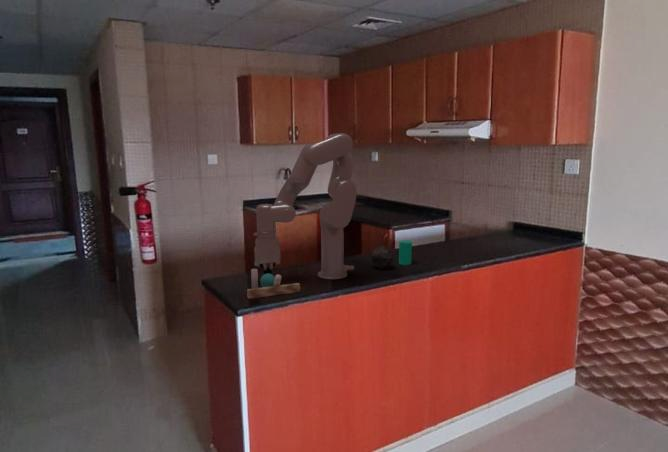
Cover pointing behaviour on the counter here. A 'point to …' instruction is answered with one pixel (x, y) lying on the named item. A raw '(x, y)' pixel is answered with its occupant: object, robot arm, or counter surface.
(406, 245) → the candle
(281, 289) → the oak rail
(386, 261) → the decorative stone
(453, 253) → the counter surface
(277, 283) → the cream pin
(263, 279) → the ball
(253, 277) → the grey pin
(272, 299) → the counter surface
